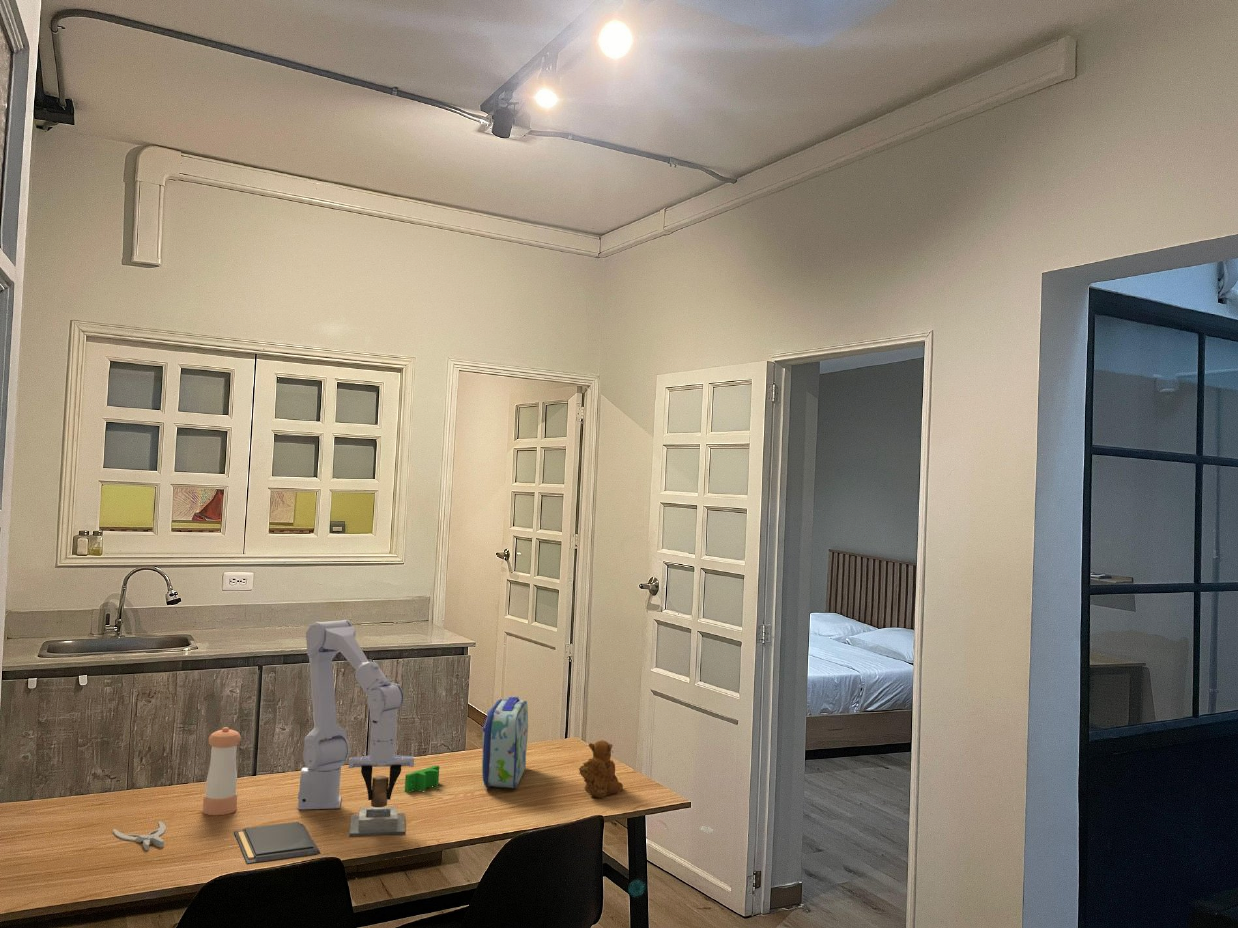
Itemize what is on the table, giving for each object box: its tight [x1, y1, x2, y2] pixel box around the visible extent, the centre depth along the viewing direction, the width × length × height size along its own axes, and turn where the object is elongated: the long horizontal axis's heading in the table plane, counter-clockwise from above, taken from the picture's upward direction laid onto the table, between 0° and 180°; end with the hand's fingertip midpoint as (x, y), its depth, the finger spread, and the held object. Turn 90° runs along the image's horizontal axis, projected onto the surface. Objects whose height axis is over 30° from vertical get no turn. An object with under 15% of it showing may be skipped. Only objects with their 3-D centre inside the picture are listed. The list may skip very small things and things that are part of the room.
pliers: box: [113, 821, 167, 851], centre depth 192 cm, size 10×2×15 cm
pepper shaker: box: [202, 726, 242, 816], centre depth 211 cm, size 7×7×19 cm
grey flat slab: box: [233, 821, 322, 865], centre depth 193 cm, size 20×2×15 cm
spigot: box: [370, 775, 389, 807], centre depth 206 cm, size 4×4×6 cm
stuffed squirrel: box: [578, 739, 624, 799], centre depth 238 cm, size 10×14×13 cm
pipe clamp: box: [404, 765, 440, 793], centre depth 234 cm, size 11×4×5 cm, turn 147°
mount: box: [348, 806, 406, 837], centre depth 206 cm, size 12×12×3 cm
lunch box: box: [481, 696, 529, 789], centre depth 246 cm, size 26×11×21 cm, turn 179°
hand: (379, 798), depth 206 cm, fingers closed on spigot, 4 cm apart
